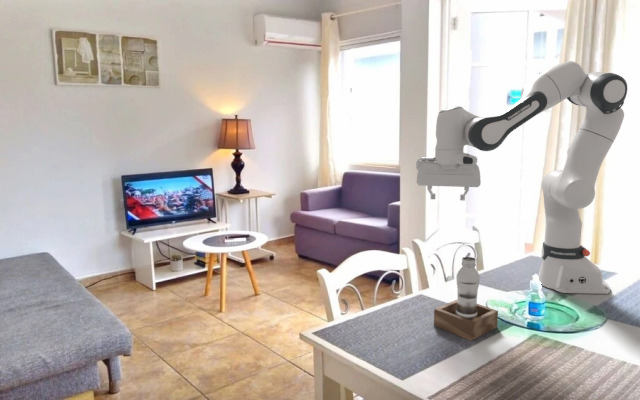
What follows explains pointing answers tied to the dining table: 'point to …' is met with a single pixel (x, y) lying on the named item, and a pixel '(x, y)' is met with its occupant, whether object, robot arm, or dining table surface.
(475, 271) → the plastic bottle
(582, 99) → the robot arm
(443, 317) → the open wooden box
